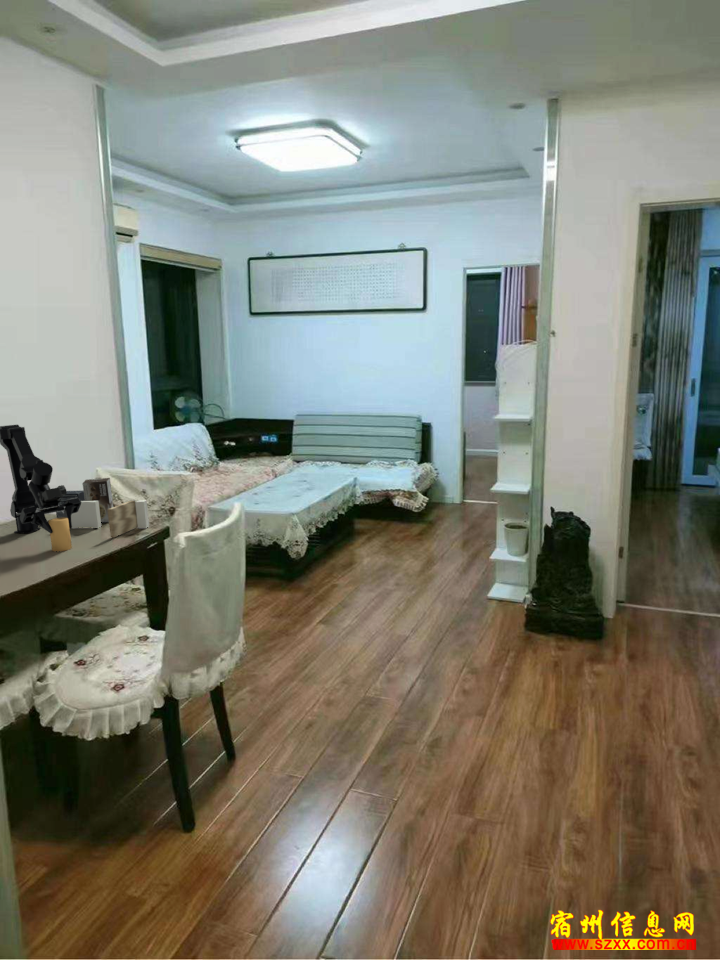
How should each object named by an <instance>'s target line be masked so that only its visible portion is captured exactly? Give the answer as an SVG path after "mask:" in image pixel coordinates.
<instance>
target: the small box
mask: <svg viewBox="0 0 720 960" xmlns="http://www.w3.org/2000/svg"><path fill="white" fill-rule="evenodd" d="M66 491H67V493H66V494H65V495H63V497H61V498H60V500H61V501H60V503H58V504H59V505H62V504H65V503H66V500H67V499H71V498H79V499H80V501H85V498H84V490H66ZM55 514H56V518H61V517H62V516H63V512H62V511H58V512H55Z"/></svg>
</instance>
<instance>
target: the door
mask: <svg viewBox="0 0 720 960" xmlns="http://www.w3.org/2000/svg"><path fill="white" fill-rule="evenodd" d="M135 502H136V500H135V499H133V500H132V499H131V500H129V501H125V502H123V503H121V504H118V505H116V506H113V507H112V508H110V509H107V510H108V519H109V522H108V527H109V534H110V535H109V536H110V538H116V537H118V535H119V536H120V535H123V534H125V533H127V532H129V531H132V530H134V529H136V528H137V529H138V524H137V514H136V505H135Z"/></svg>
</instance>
